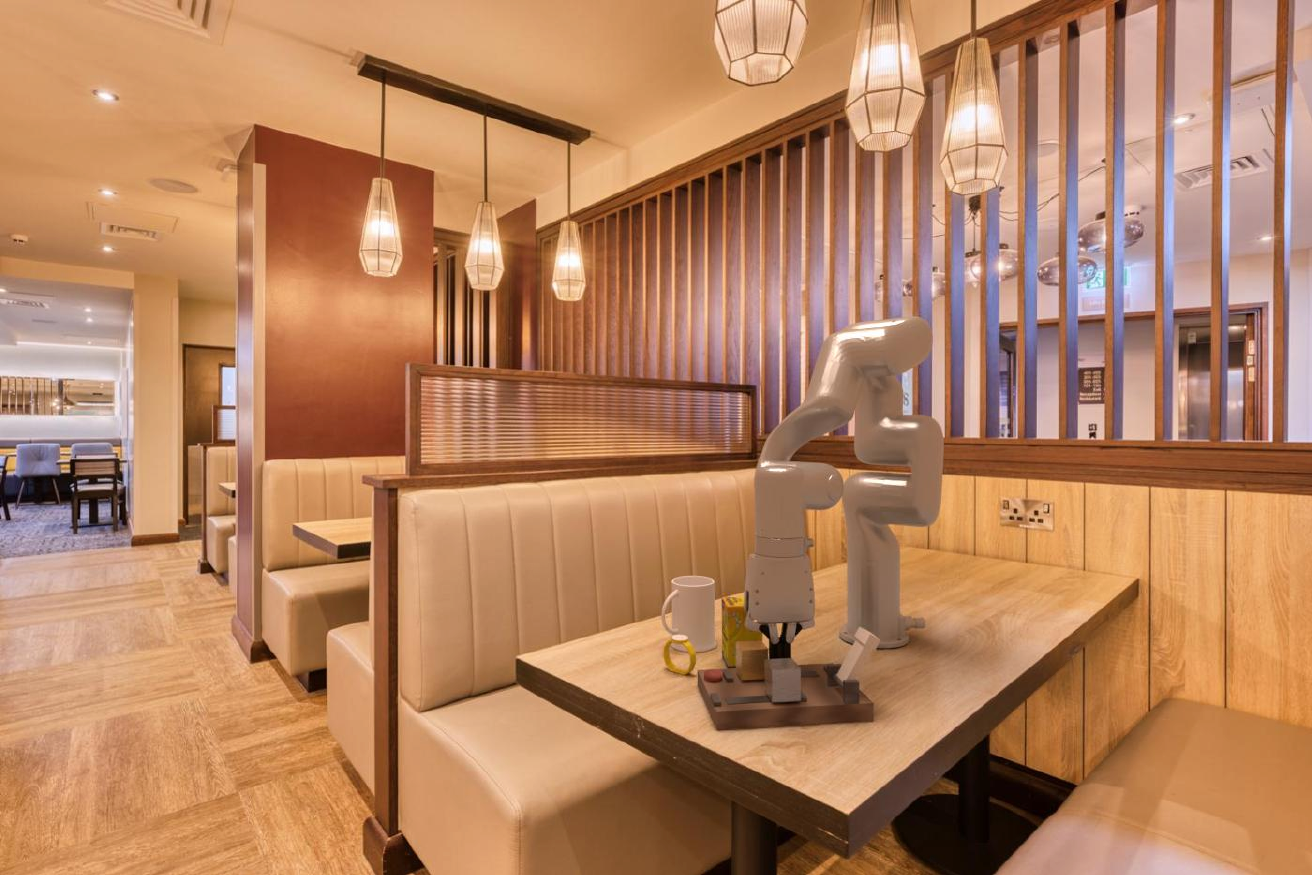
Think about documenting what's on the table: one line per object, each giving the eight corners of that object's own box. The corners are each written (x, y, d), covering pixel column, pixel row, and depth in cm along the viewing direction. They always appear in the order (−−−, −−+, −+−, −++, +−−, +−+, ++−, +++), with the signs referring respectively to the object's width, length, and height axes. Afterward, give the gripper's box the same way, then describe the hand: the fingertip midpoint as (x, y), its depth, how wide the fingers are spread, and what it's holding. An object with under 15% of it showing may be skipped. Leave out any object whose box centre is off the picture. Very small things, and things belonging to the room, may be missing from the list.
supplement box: (721, 658, 114) (720, 596, 114) (754, 657, 115) (754, 595, 114) (727, 671, 108) (727, 606, 108) (763, 670, 109) (762, 605, 109)
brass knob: (761, 669, 102) (761, 640, 101) (768, 679, 98) (768, 649, 98) (735, 670, 101) (735, 641, 101) (742, 680, 97) (741, 650, 97)
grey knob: (791, 689, 94) (791, 657, 94) (800, 700, 90) (800, 668, 90) (764, 690, 93) (764, 659, 93) (772, 702, 89) (772, 669, 89)
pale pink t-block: (839, 683, 95) (868, 631, 96) (852, 696, 91) (882, 641, 91) (829, 677, 95) (858, 625, 95) (841, 690, 91) (871, 635, 91)
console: (832, 678, 105) (832, 644, 105) (873, 720, 90) (873, 681, 90) (697, 685, 103) (697, 650, 102) (716, 730, 88) (716, 689, 88)
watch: (698, 675, 108) (700, 640, 107) (688, 680, 106) (690, 644, 105) (669, 664, 111) (671, 630, 111) (659, 669, 109) (661, 634, 109)
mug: (674, 660, 114) (673, 591, 113) (647, 646, 121) (646, 581, 121) (725, 646, 120) (725, 581, 120) (697, 634, 127) (697, 573, 127)
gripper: (818, 541, 104) (818, 655, 104) (726, 543, 102) (726, 660, 103) (836, 550, 96) (836, 673, 97) (737, 553, 95) (737, 678, 95)
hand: (779, 666), depth 100 cm, fingers closed
